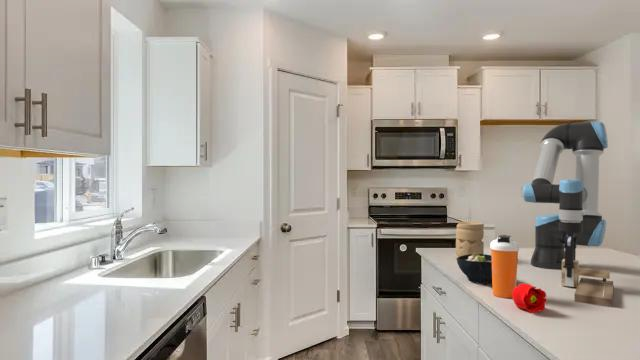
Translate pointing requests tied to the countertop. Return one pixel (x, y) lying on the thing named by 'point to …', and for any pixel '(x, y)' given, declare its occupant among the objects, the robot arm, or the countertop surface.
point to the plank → (594, 292)
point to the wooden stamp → (584, 273)
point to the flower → (529, 298)
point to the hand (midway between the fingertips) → (570, 284)
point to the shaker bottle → (504, 265)
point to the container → (469, 238)
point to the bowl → (476, 267)
